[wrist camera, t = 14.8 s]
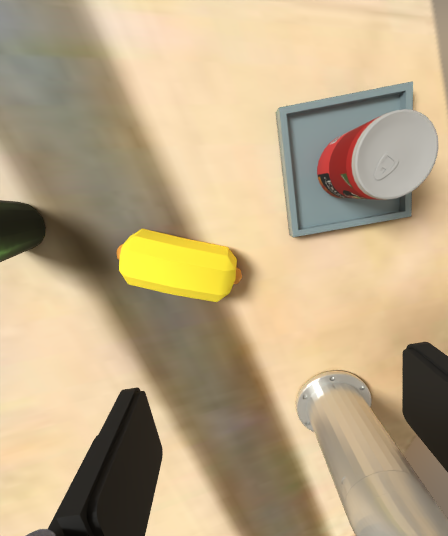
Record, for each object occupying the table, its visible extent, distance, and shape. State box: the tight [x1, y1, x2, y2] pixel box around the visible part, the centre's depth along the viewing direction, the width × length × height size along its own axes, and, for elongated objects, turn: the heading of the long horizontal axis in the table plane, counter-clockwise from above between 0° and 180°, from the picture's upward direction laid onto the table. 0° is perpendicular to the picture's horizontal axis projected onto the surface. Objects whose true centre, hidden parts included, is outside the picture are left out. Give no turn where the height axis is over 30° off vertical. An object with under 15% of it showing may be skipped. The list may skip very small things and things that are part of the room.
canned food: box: [317, 109, 438, 200], centre depth 30 cm, size 8×8×11 cm
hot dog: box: [117, 229, 242, 302], centre depth 36 cm, size 18×7×8 cm
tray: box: [276, 82, 413, 237], centre depth 35 cm, size 16×16×2 cm
